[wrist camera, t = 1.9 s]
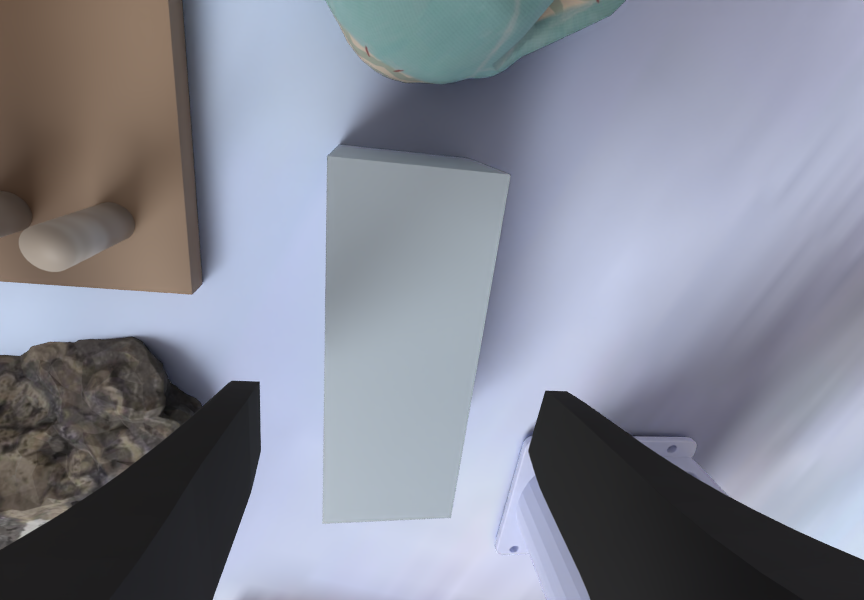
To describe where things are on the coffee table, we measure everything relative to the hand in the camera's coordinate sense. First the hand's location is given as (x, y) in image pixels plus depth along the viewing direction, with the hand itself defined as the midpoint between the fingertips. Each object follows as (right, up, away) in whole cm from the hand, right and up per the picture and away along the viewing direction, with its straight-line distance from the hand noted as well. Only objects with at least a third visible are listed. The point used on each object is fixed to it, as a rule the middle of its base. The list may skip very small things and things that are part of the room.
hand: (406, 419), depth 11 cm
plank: (-1, +3, +6) cm, 7 cm away
